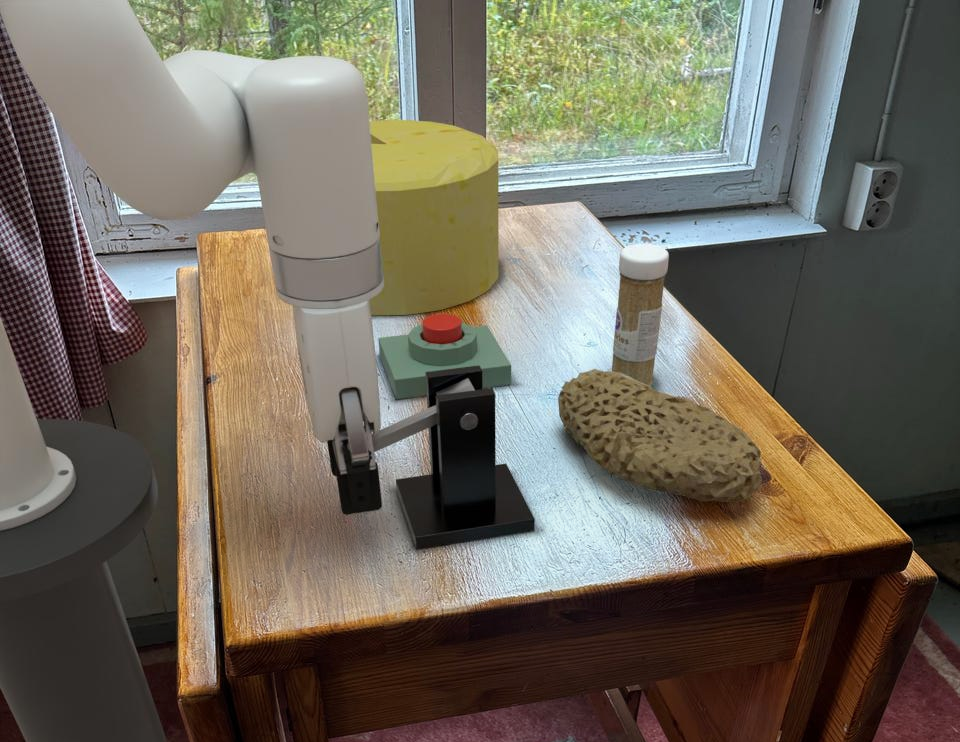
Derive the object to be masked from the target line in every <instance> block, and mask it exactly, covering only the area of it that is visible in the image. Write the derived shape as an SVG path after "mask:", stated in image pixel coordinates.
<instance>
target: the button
mask: <svg viewBox="0 0 960 742" xmlns="http://www.w3.org/2000/svg"><path fill="white" fill-rule="evenodd" d="M461 322H462V319H461V317H459V316H457V315H454V314H451V313H435V314H432V315H431V314H430V315H429V316H426V317H424V319H423V320H422V321H421V324H422V327H423V340H424V341H426V342H428V343H433V344H449V343H454V342H457V341H459V340H461V339H462V323H463V322H462V323H461Z"/></svg>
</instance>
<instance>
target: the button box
mask: <svg viewBox="0 0 960 742" xmlns="http://www.w3.org/2000/svg"><path fill="white" fill-rule="evenodd" d="M461 323H462V339H461V340H459V341H457V342H454V343H449V344H433V343H428V342H426V341H424V340H423V327H422V323H420V324H419V325H416V326H414V327H413V328H412V329H411V330H410V331H409V333H408V334H400V335H392V336H391V335H390V336H383V337H378V339H377V340H378V350H379V351H378V352H379V358H380V361H381V364H382V366H383V368H384V372H385V373H386V377H387V379H388V381H389V384H390V387H391V389H392V392H393V395H394V397H395V399H396V400H403V399H410V398H418V397H427V391H426V372H430V371H438V370H446V369H454V368H462V367H470V366H478V365H479V366H480V367H481V369H482V376H483V389H488V388H495V387H502V386H503V387H505V386H511V385H512V363H511V362H510V360H509V359H508V357H507V356H506V354H505V352H504V351H503V349H502V347H501V345H500V344H499V342H498V341H497V339H496V338H495V336H494V334H493V332H492V331H491V329H490V328H489V326H488V325H487V324H484V325H477V326H476V325H475V326H471V325H468V324H466V323H464V322H462V321H461Z"/></svg>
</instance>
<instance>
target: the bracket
mask: <svg viewBox="0 0 960 742" xmlns="http://www.w3.org/2000/svg"><path fill="white" fill-rule="evenodd" d="M467 378H469V380H470V382H471V384H472V385H473V387H474V389H475V390H473V391H465V392H458V393H450V394H442V395H437V394H436V393H437V392H438V391H440V390H443V389H445V388H447V387H449V386H451V385H454V384H456V383H458V382H460V381H462V380H465V379H467ZM426 391H427V396H426V409H428V408H430V407H432V406H435V405H437V424H436V425H434V426H432V427H429V428H428V443H429V444H428V445H429V460H430V461H429V462H430V464H429V465H430V474H423V475H416V476H410V477H403V478H396V479H395V490H396V494H397V496H398V499H399V503H400V505H401V508H402V511H403V515H404V517H405V520H406V523H407V526H408V529H409V532H410V535H411V538H412V541H413V544H414V547H415V549H416V550H421V549H426V548H427V549H428V548H434V547H440V546H445V545H453V544H459V543H465V542H472V541H478V540H484V539H490V538H497V537H503V536H509V535H517V534H523V533H528V532H534V531H535V529H536V526H535V525H536V524H535V523H536V519H535V517H534V515H533V513H532V510H531V509H530V506H529V505H528V503H527V501H526V499H525V497H524V496H523V493H522V491H521V489H520V487H519V485H518V483H517V481H516V479H515V478H514V475H513V474H512V472H511V470H510V468H509V466H508V464H507V463H500V464H496V456H497V455H496V393H495V391H494V389H493V387H488V388H483V376H482V369H481V367H480V366H479V365H478V366H470V367H462V368H454V369H446V370H438V371H430V372H426Z"/></svg>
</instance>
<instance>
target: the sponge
mask: <svg viewBox="0 0 960 742" xmlns="http://www.w3.org/2000/svg"><path fill="white" fill-rule="evenodd" d="M611 371H612V370H609V371H608V370H607V371H604V370H599V369H597V368H592V369H590V370H588V371H583V372H579V374H578V375H577V377H572V378H571V379H570V380H569V381H565V382H564V384H563V385H562V386H561V388H560V389H561V390H560V392H559V394H558V397H557V405H558V415H559V416H558V417H559V419H560V420H561V422H562V426H563V428H564V430H565V432H567V434H569V435H570V436H571V437H572V438H573V440H575V443H578V444H579V445H580V446H582V447H583V449H584V451H585V452H586V453H587V455H588V457H589V458H590V459H591V461H592V462H593V463H595V464H596V465H597V466H598V467H600V468H601V469H603V470H605V471H607V472H608V473H609V474H610V475H613V476H616V477H617V478H619V479H620V480H623V481H626V482H628V483H630V484H632V485H634V486H638V487H640V488H643V489H644V490H649V491H654V492H660V493H670V494H674V495H678V496H683V497H686V498H690V499H691V500H692V499H693V500H697V501H698V502H705V503H707V502H719V503H728V502H729V503H731V502H732V503H737V502H738V503H739V502H743V501H745V500H747V499H749V498H750V497H751V496H752V495H753V494H754V493H755V492H756V491H757V490H758V489H759V488H760V487H761V486H762V478H763V477H762V474H761V472H760V470H759V468H762V458H761V454H762V453H761V449H759V447H758V446H757V445H756V444H755V442H754V441H753V440H752V439H751V437H750V436H748V434H747V433H745V432H744V431H743V430H742V429H741V428H739V427H738V426H737V425H736V424H735V425H734V424H733V423H732V422H730V421H729V420H728V419H726V418H724V417H722V416H720V415H719V414H717V412H715V411H713V410H712V409H710V408H708V407H706V406H702V405H700V404H698V403H695V402H694V401H693V400H691V399H689V398H688V397H685V396H684V395H683V396H680V395H676V396H675V395H671V394H668V393H666V392H662V391H659V390H655V388H653V387H652V386H651V387H650V386H649V385H646V384H644V383H642V382H639V381H637V380H635V379H633V378H631V377H629V376H627V375H624V374H622V373H619V372H611Z"/></svg>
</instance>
